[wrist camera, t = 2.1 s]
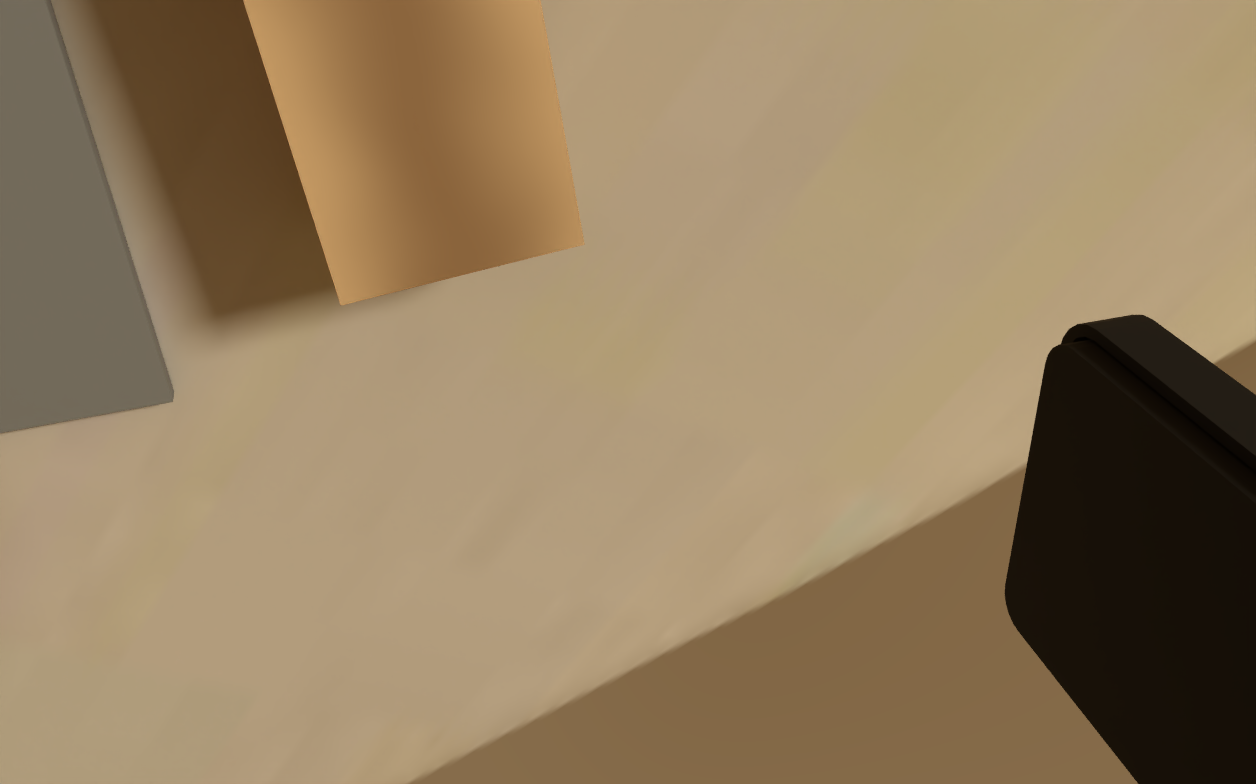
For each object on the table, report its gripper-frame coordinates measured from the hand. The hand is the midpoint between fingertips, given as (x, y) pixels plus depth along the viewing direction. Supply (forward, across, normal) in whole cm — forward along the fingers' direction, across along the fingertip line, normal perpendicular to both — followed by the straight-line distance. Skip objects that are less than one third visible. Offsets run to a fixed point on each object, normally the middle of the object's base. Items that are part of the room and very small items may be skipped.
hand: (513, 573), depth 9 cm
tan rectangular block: (+21, -1, 0) cm, 21 cm away
